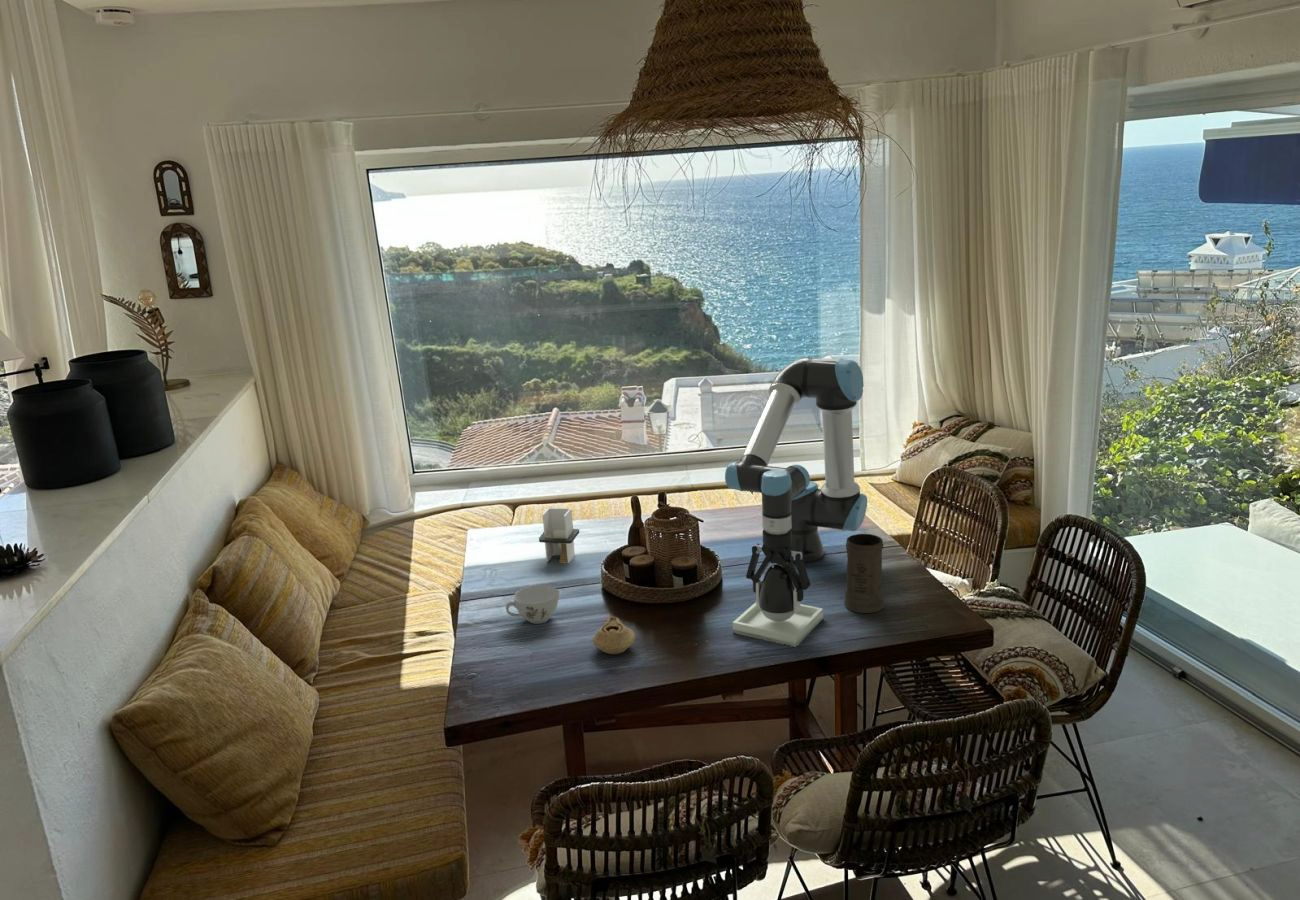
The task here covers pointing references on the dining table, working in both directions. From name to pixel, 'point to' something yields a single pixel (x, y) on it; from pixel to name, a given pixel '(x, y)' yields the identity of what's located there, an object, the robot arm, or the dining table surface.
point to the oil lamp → (614, 637)
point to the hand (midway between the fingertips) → (778, 607)
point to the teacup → (535, 603)
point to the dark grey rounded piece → (777, 594)
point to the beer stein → (864, 573)
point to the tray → (778, 625)
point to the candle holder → (559, 534)
